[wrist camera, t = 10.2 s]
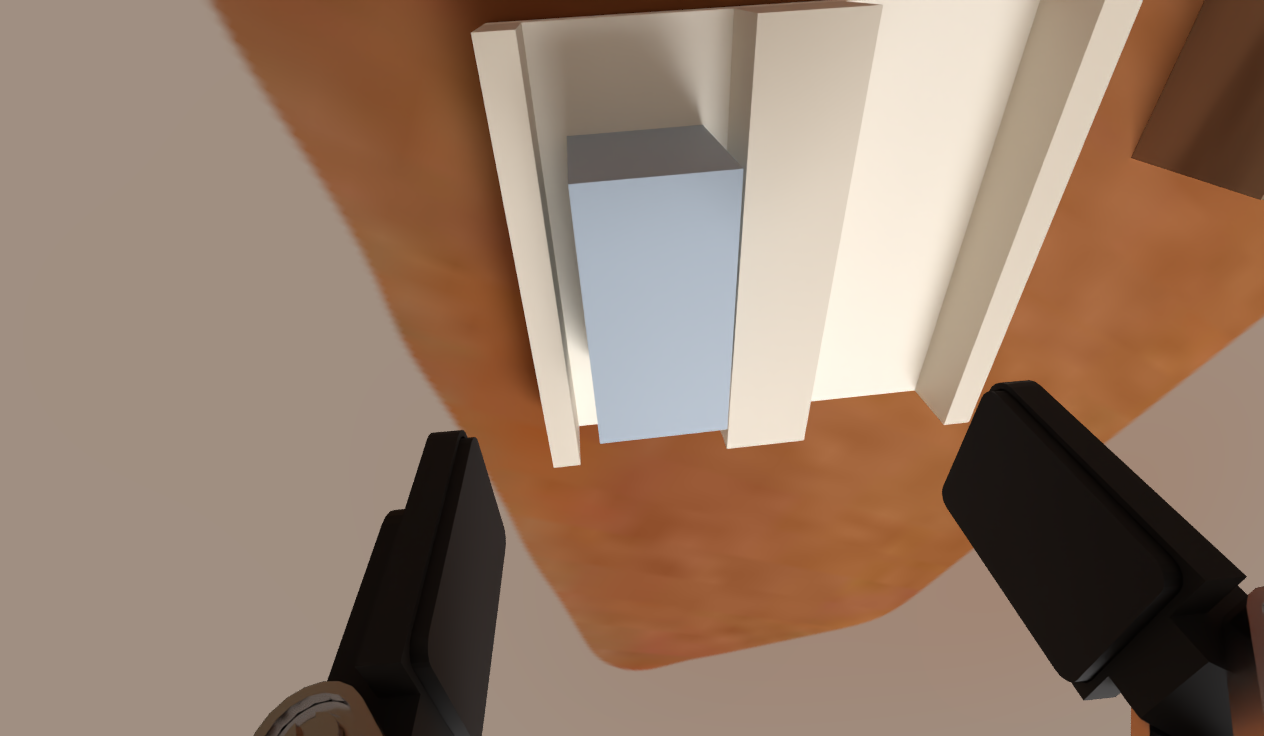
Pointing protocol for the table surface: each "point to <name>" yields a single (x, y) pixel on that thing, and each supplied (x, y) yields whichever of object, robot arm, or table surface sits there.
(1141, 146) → the walnut bar
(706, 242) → the slate bar
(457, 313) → the table surface
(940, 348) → the slot board
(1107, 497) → the robot arm
